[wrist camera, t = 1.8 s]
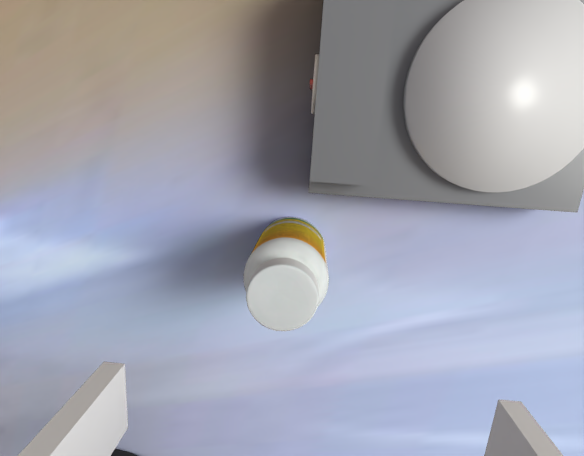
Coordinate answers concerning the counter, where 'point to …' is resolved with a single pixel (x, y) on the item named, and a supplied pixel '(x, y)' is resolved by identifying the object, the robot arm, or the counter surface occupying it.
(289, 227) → the supplement bottle
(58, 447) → the robot arm
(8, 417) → the counter surface
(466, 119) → the scale
